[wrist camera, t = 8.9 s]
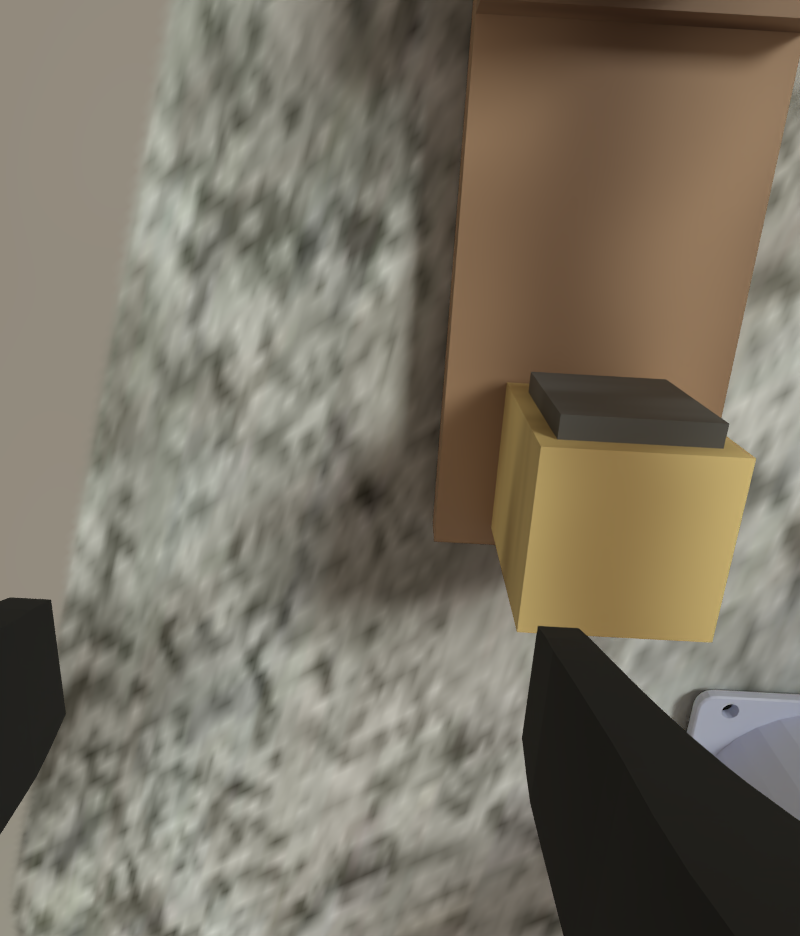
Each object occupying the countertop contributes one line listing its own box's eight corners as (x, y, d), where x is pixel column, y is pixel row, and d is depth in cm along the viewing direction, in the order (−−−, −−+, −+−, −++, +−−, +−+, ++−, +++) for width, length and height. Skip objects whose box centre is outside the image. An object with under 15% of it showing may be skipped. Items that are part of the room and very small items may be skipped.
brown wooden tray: (871, -409, 14) (1203, -844, 8) (676, 536, 21) (779, 667, 15) (506, -433, 14) (577, -889, 8) (432, 522, 21) (442, 648, 15)
